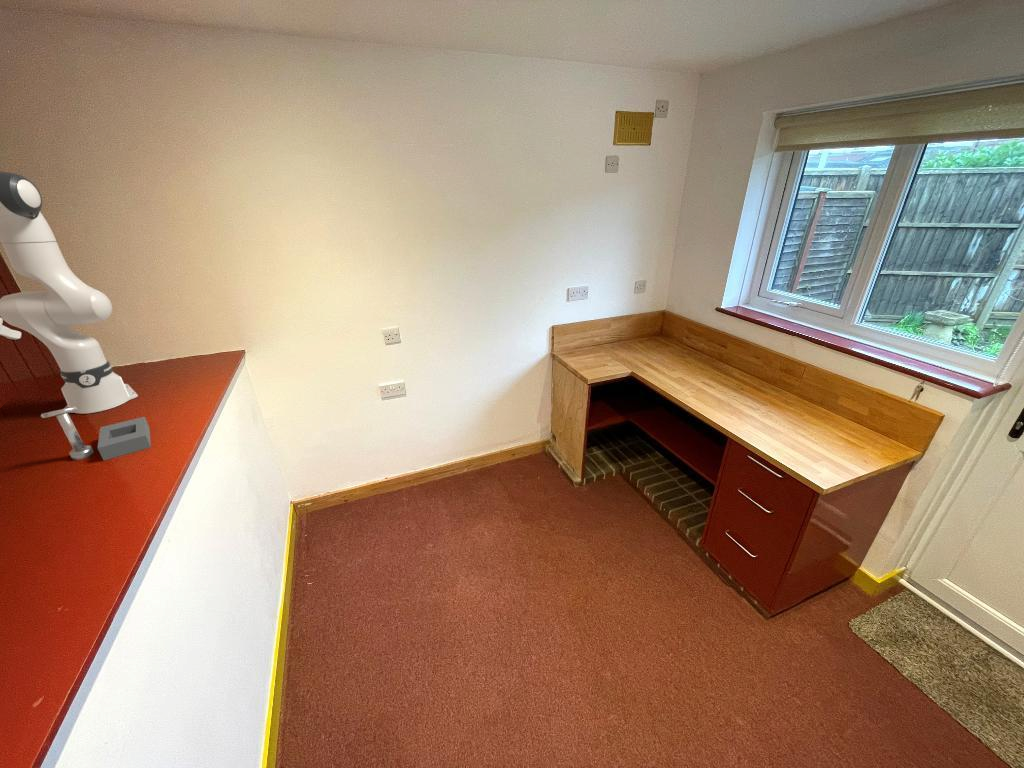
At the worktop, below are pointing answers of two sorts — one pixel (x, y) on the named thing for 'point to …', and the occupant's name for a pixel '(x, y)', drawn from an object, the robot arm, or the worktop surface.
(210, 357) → the worktop surface
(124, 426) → the grey block with hole
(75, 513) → the worktop surface
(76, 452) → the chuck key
